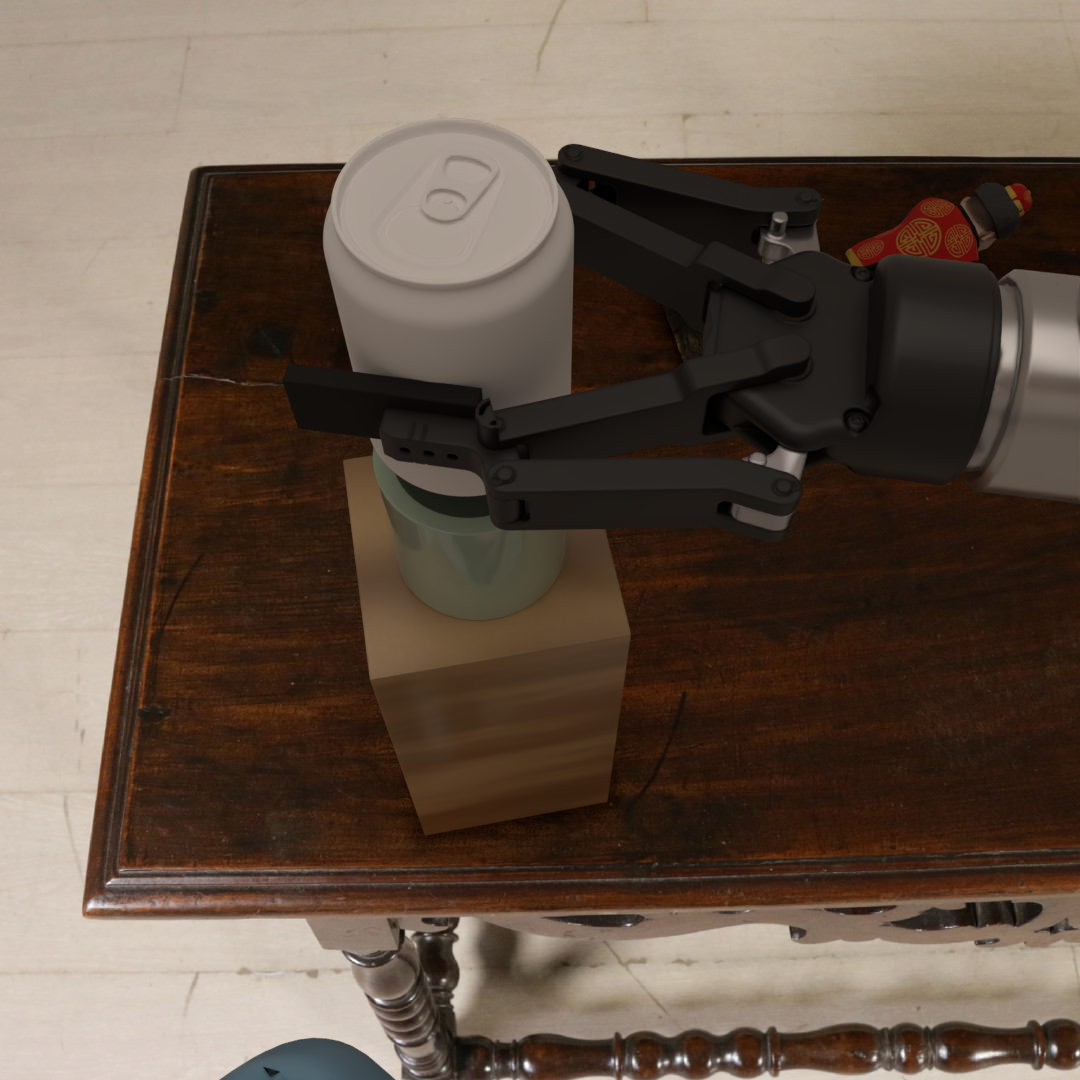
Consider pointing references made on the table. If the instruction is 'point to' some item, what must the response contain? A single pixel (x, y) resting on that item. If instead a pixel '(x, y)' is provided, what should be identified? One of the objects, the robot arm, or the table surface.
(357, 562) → the plinth
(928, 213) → the figurine
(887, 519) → the table surface
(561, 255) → the beverage can
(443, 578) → the mug
